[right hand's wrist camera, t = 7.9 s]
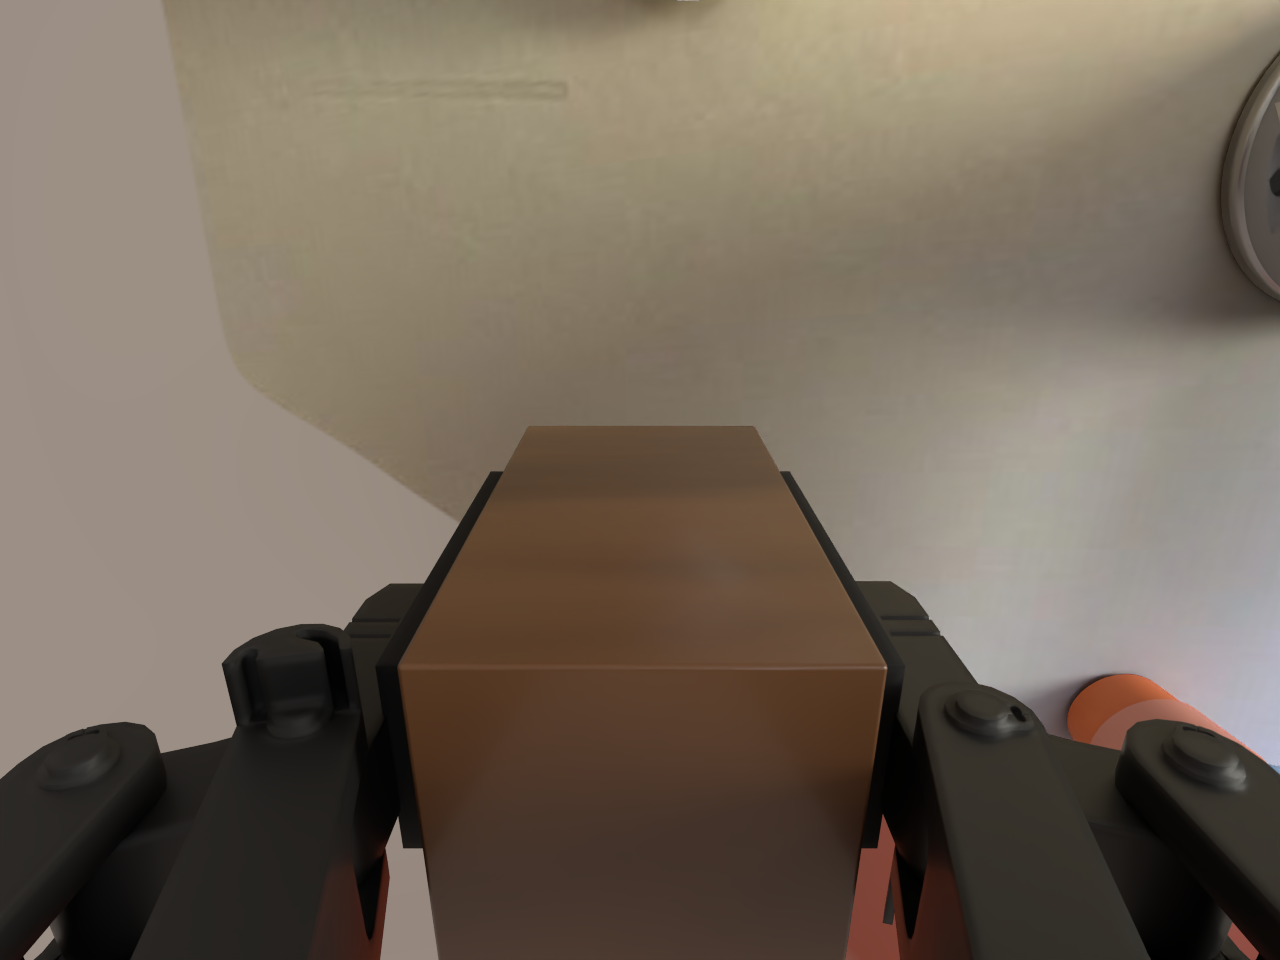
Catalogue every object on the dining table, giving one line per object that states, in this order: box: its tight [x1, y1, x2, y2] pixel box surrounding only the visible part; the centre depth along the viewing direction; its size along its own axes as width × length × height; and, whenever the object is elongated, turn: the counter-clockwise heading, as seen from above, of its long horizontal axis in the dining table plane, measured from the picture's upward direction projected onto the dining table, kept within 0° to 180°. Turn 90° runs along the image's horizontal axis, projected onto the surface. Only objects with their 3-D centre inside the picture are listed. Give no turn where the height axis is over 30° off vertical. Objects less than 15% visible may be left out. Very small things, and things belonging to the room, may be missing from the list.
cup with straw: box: [1067, 674, 1280, 923], centre depth 37 cm, size 9×9×18 cm
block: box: [397, 426, 887, 960], centre depth 11 cm, size 4×4×8 cm
